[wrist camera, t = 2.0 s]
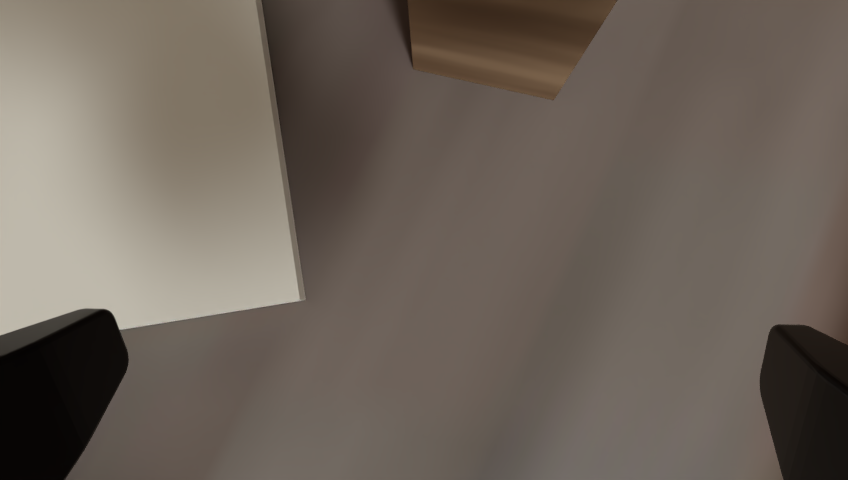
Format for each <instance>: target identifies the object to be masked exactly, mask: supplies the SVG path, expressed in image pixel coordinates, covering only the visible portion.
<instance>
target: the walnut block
mask: <svg viewBox="0 0 848 480" xmlns="http://www.w3.org/2000/svg"><path fill="white" fill-rule="evenodd" d="M616 2H617V0H408V11H409V23H410V35H411V47H412V59H413V69H415V70H419V71H424V72H428V73H433V74H437V75H442V76H446V77H451V78H455V79H460V80H464V81H469V82H473V83H478V84H482V85H487V86H492V87H496V88H501V89H505V90H510V91H514V92H519V93H523V94H528V95H532V96H537V97H541V98H546V99H550V100H554V99H555V97H556V96H557V94H558V93H559V91H560V90H561V88H562V86H563V85H564V83H565V82H566V80H567V79H568V77H569V75H570V74H571V72H572V71H573V69H574V68H575V66H576V64H577V63H578V61H579V60H580V58H581V57H582V55H583V53H584V52H585V50H586V49H587V47H588V46H589V44H590V42H591V41H592V39H593V38H594V36H595V35H596V33H597V31H598V30H599V28H600V27H601V25H602V24H603V22H604V20H605V19H606V17H607V16H608V14H609V13H610V11H611V9H612V8H613V6H614V5H615V3H616Z"/></svg>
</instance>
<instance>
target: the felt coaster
mask: <svg viewBox="0 0 848 480" xmlns="http://www.w3.org/2000/svg"><path fill="white" fill-rule="evenodd" d="M303 300H306V297H305V291H304V284H303V277H302V270H301V264H300V257H299V250H298V243H297V237H296V230H295V223H294V216H293V210H292V203H291V196H290V189H289V183H288V176H287V169H286V162H285V156H284V149H283V142H282V135H281V129H280V122H279V115H278V108H277V101H276V95H275V88H274V81H273V74H272V68H271V61H270V54H269V47H268V41H267V34H266V27H265V20H264V14H263V7H262V0H0V335H3V334H6V333H9V332H12V331H15V330H18V329H21V328H24V327H27V326H30V325H33V324H36V323H39V322H42V321H45V320H48V319H51V318H54V317H57V316H60V315H63V314H67V313H70V312H73V311H76V310H79V309H84V308H93V309H107V310H109V311H110V312H111V313H112V314H113V315H114V317H115V319H116V322H117V325H118V327H119V330H122V329H129V328H135V327H141V326H147V325H153V324H160V323H166V322H172V321H178V320H184V319H191V318H197V317H203V316H209V315H216V314H222V313H228V312H234V311H240V310H247V309H253V308H259V307H265V306H271V305H278V304H284V303H290V302H296V301H303Z"/></svg>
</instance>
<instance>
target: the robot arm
mask: <svg viewBox="0 0 848 480" xmlns="http://www.w3.org/2000/svg"><path fill="white" fill-rule="evenodd" d="M128 360H129V359H128V352H127V349H126V346H125V343H124V341H123V338H122V335H121V333H120V330H119V327H118V325H117V322H116V319H115V317H114V315H113V314H112V313H111V312H110V311H109V310H107V309H93V308H84V309H79V310H76V311H73V312H70V313H67V314H63V315H60V316H57V317H54V318H51V319H48V320H45V321H42V322H39V323H36V324H33V325H30V326H27V327H24V328H21V329H18V330H15V331H12V332H9V333H6V334H3V335H0V480H65V479H66V477H67V476H68V474H69V473H70V471H71V470H72V468H73V467H74V465H75V464H76V462H77V461H78V459H79V458H80V456H81V454H82V453H83V451H84V450H85V448H86V446H87V444H88V443H89V441H90V439H91V437H92V435H93V434H94V432H95V430H96V428H97V426H98V424H99V422H100V420H101V418H102V417H103V415H104V413H105V411H106V409H107V407H108V405H109V403H110V401H111V400H112V398H113V396H114V394H115V392H116V390H117V388H118V386H119V384H120V383H121V381H122V379H123V377H124V375H125V373H126V371H127V367H128ZM760 392H761V397H762V401H763V405H764V409H765V412H766V416H767V420H768V424H769V428H770V431H771V435H772V439H773V443H774V446H775V450H776V454H777V458H778V461H779V465H780V469H781V473H782V476H783V479H784V480H848V345H846V344H844V343H842V342H840V341H838V340H836V339H834V338H832V337H830V336H828V335H826V334H824V333H822V332H820V331H817V330H815V329H813V328H811V327H809V326H806V325H780V324H778V325H775V326H773V327H772V328H771V330H770V332H769V335H768V340H767V345H766V349H765V354H764V359H763V363H762V368H761V373H760Z"/></svg>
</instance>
